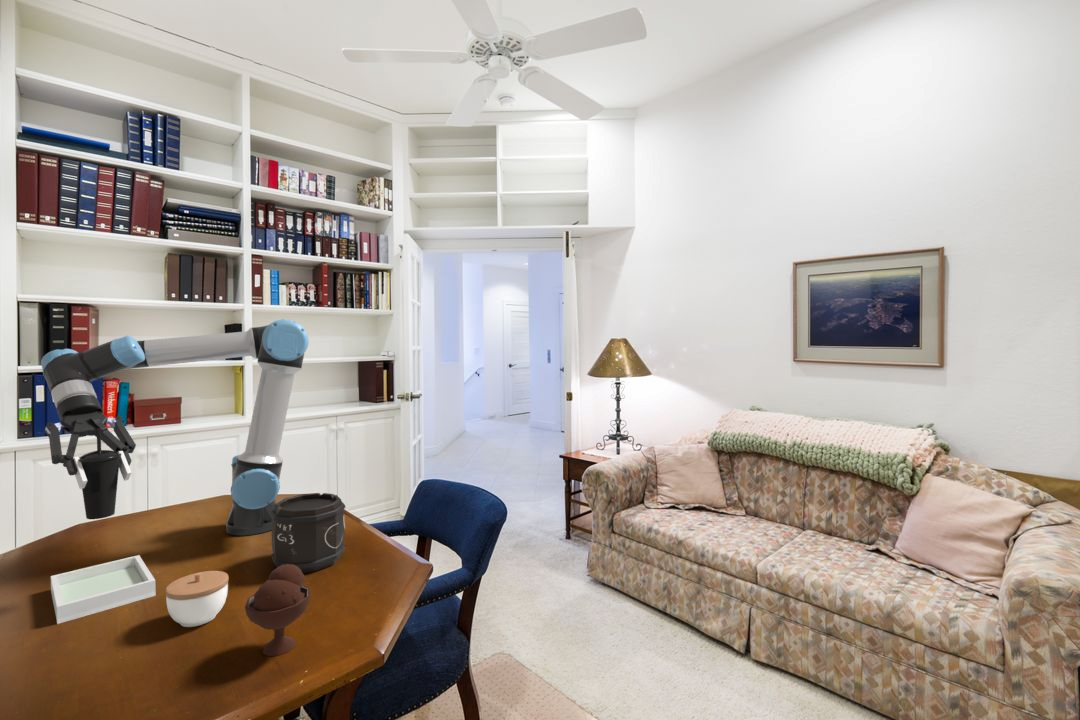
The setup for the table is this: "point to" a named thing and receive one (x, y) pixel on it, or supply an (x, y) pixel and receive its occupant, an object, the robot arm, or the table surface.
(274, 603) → the ice cream bowl
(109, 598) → the tray
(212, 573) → the lidded jar
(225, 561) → the table surface
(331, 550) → the labeled octagonal canister
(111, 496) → the drinking cup
